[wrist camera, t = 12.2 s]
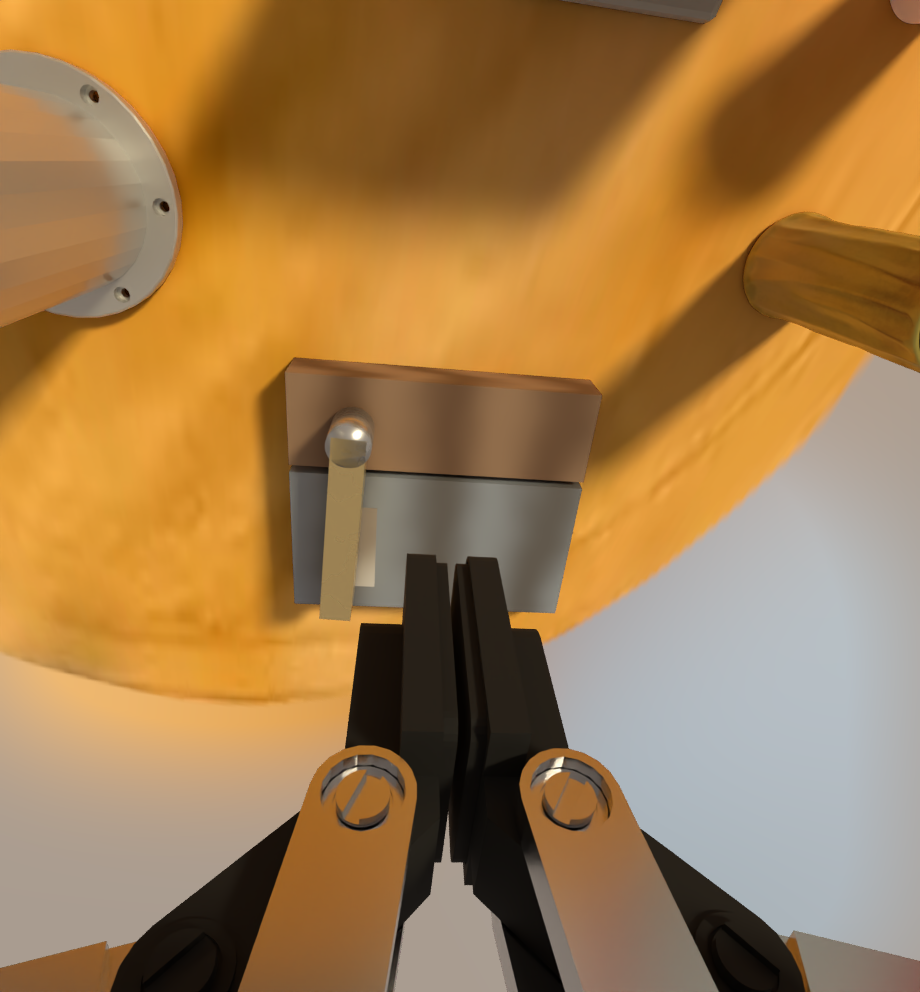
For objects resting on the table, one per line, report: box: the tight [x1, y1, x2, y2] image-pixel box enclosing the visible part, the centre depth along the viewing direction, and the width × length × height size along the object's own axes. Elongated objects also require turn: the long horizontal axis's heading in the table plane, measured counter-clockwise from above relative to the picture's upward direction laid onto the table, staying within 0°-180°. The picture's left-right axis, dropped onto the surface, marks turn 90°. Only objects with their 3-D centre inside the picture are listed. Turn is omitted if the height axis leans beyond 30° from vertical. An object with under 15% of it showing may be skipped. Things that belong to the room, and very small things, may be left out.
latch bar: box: [319, 407, 375, 621], centre depth 38 cm, size 14×3×3 cm, turn 171°
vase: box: [743, 212, 920, 373], centre depth 31 cm, size 6×6×14 cm
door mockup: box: [285, 358, 602, 613], centre depth 42 cm, size 19×17×3 cm
